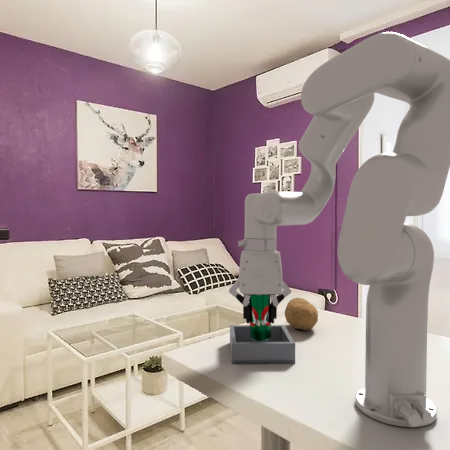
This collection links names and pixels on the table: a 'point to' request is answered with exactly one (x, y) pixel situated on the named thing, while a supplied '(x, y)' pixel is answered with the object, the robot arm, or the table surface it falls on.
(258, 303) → the soda can
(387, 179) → the robot arm
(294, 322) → the potato
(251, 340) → the bin
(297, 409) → the table surface
